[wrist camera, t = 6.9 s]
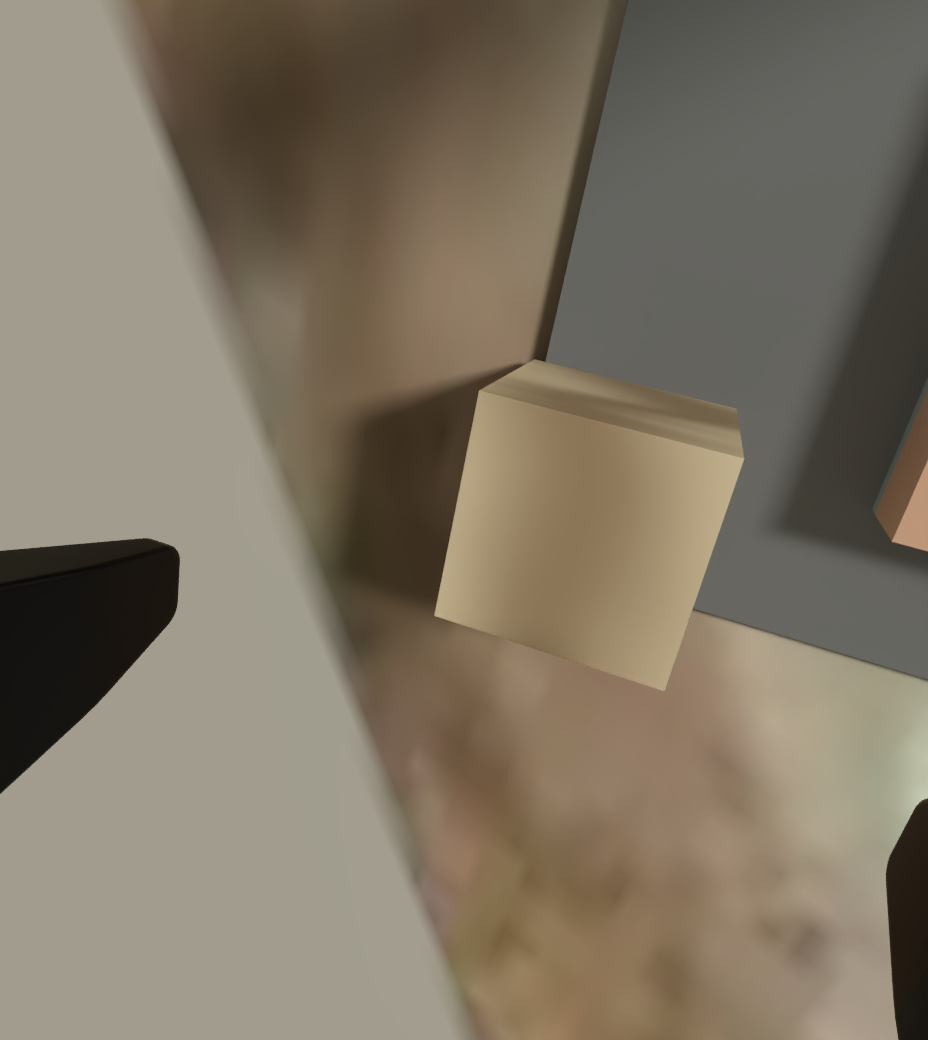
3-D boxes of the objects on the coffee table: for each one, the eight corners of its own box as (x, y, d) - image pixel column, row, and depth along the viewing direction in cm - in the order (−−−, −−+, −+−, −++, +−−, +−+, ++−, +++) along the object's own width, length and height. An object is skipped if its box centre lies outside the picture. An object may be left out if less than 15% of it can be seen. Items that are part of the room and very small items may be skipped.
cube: (736, 408, 16) (743, 458, 12) (675, 593, 18) (664, 691, 14) (534, 359, 17) (479, 390, 13) (494, 538, 19) (434, 615, 15)
